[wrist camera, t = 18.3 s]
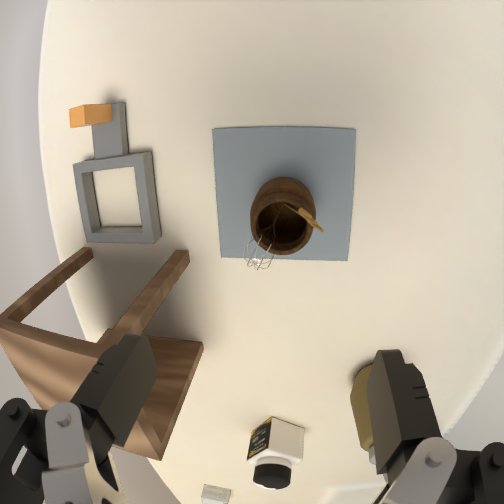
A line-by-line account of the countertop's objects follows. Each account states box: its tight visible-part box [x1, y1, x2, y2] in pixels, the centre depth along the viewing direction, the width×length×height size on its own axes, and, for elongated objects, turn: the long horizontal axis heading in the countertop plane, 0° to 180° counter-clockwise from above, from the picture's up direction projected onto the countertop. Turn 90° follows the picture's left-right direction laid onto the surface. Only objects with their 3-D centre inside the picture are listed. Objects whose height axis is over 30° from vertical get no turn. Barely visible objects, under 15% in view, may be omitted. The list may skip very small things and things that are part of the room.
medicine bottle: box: [247, 417, 304, 489], centre depth 43 cm, size 7×7×12 cm
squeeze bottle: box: [350, 364, 388, 483], centre depth 31 cm, size 8×8×18 cm
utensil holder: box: [243, 177, 324, 270], centre depth 25 cm, size 6×6×12 cm
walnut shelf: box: [0, 248, 203, 461], centre depth 31 cm, size 16×16×18 cm
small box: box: [201, 484, 230, 504], centre depth 66 cm, size 8×8×5 cm
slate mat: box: [212, 127, 356, 261], centre depth 30 cm, size 14×14×1 cm
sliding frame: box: [69, 103, 161, 243], centre depth 29 cm, size 16×10×6 cm, turn 2°
